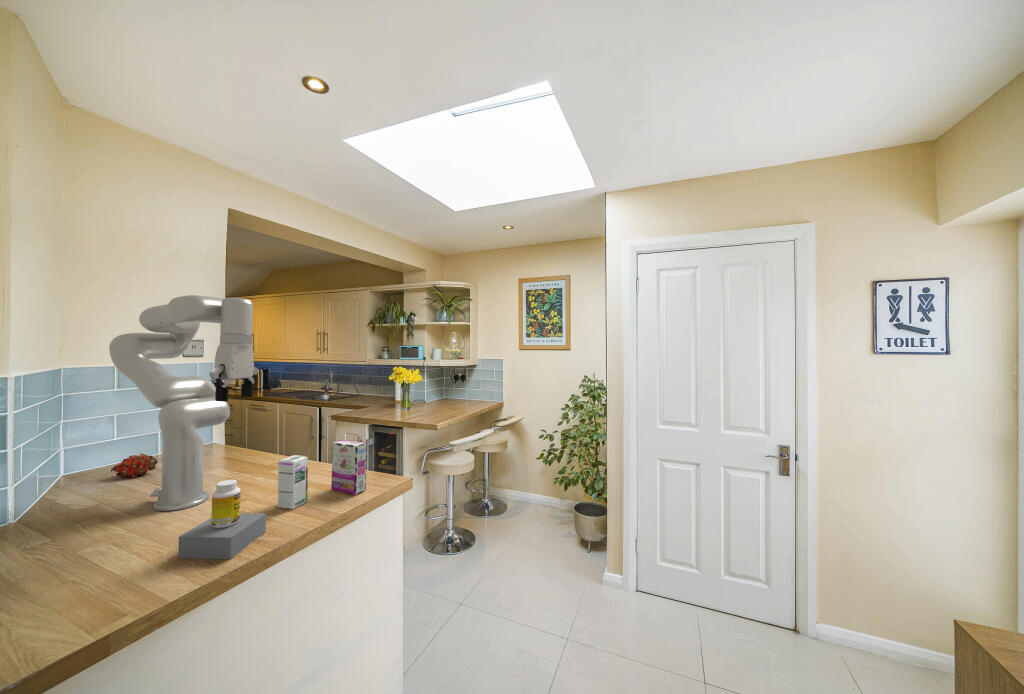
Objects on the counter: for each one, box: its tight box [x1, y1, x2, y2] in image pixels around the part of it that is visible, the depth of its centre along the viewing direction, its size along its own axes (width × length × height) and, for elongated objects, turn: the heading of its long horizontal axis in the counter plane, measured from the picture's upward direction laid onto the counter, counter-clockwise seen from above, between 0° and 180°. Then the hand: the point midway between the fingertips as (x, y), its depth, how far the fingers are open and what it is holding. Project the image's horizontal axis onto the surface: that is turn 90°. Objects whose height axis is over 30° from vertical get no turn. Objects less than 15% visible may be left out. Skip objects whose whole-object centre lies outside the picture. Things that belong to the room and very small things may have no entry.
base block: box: [177, 512, 267, 560], centre depth 90 cm, size 12×12×5 cm
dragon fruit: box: [110, 453, 159, 479], centre depth 134 cm, size 8×8×12 cm
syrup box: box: [277, 454, 309, 510], centre depth 113 cm, size 6×6×14 cm
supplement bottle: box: [211, 479, 241, 528], centre depth 90 cm, size 6×6×10 cm
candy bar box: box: [330, 439, 368, 496], centre depth 125 cm, size 11×5×16 cm, turn 68°
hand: (234, 399), depth 107 cm, fingers open, 9 cm apart
